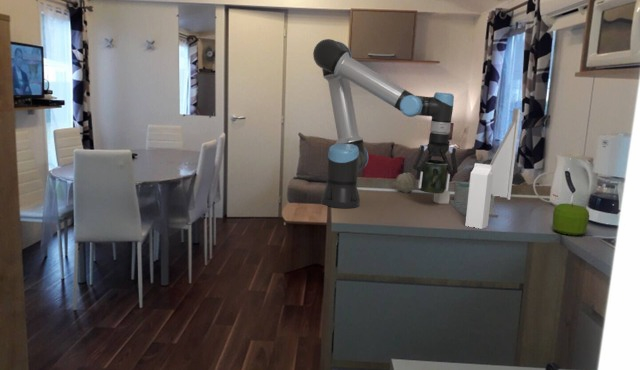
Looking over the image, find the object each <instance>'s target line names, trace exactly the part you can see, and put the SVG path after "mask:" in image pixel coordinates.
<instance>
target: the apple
mask: <svg viewBox="0 0 640 370" xmlns="http://www.w3.org/2000/svg"><path fill="white" fill-rule="evenodd" d="M589 220H590V211H589V210H588V209H587V208H586V207H585V206H583V205H577V204H573V203H560V204H557V205H556V206H554V209H553V215H552V225H551V226H552V227H551V228H552V229H554V230H555V231H556V232H558V233H559V234H561V233H562V235H566V234H568V236H579V235H582V234H586V232H587V228H588V223H589Z"/></svg>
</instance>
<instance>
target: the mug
mask: <svg viewBox="0 0 640 370" xmlns="http://www.w3.org/2000/svg"><path fill="white" fill-rule="evenodd" d="M423 160H424V159H421V160H420V162H421V163H422V162H423ZM425 163H426V165H425V166H424V168H423V169H422V170H421V171H422V172H423V175H422V183H421V188H418V189H419V190H420V191H421V192H423V193H424V192H425V193H428V194H434V193H443V192H444V191H445V183H446V175H447V173H448V170H447V165H448V164H445V163H444V161H443V160H438V159H429V161H428V162H425Z"/></svg>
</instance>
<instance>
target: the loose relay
mask: <svg viewBox="0 0 640 370" xmlns="http://www.w3.org/2000/svg"><path fill="white" fill-rule="evenodd" d="M450 195H451V192H450V191H449V190H448V191H447V190H445V191H444V192H443V193H433V202H434V203H436V204H450V203H449V200H450Z"/></svg>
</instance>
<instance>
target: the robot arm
mask: <svg viewBox="0 0 640 370" xmlns="http://www.w3.org/2000/svg"><path fill="white" fill-rule="evenodd" d="M312 55H313V57H312V58H313V61H314V63H315V64H316V65H317V66H318V67H319V68H320V69H321V70H322V71H321V72H322V77H323V78H324V79H325V80H327V82H328V83H327V84H328V89H329V93H330V98H331V99H330V101H331V105H332V112H333V117H334V123H335V129H336V135H337V140H336V142H335V143H334V144H332V145H331V146H330V147H329V149H328V153H327V157H328V158H327V159H328V160H327V175H326V179H327V181H326V186H325V188H324V191H323V193H322V197H321V204H322V205H323V206H327V207H330V208H337V209H352V208H353V209H354V208H358V207H360V204H361V198H360V195H359V189H358V186H357V185H358V184H357V181H358V173H360V172H361V171H363V170H364V169H365V168H366V166H367V164H368V162H369V153H368V151H367V149H366V148H365V145H364V138H363V137H361V136H360V135H359V129H358V124H357V119H356V113H355V105H354V101H353V94H352V88H351V84H350V82H352V83H353V84H355V85H357V86H358V87H360V88H361V89H363V90H365V91H366V92H368V93H370V94H372V95H374V97H376V98H378V99H380V100H381V101H383V102H385V103H387V104H388V105H390V106H392V107H393V108H395V109H396V110H398V111H400V112H401V113H402V114H403V115H404V116H407V117H408V118H410V117H411V118H413V117H416V116H419V117H420V116H422V117H431V120H430V121H431V122H430V130H429V131H430V132H429V137H428V144H427V145H422V144H420V146H419V151H418V154H417V156H416V159H415V161H414V164H413V165H412V169H413V170H415V171H416V178H415V179H416V180H418V182H417V183H418V184H417V188H418V189H419V188H421V183H422V175H423V172H422V171H421V170H422V169H423V168H424V166H425V165H426V163H425V162H428V161H429V160H431V158H433V157H436V158H437V157H438V158H442V161H444V163H445V164H448V165H447V175H446V183H445V190H447V191H449V183H451V182H452V179H453V175H454V174H457V173H458V172H459V171H458V164H457V158H456V153H457V152H456V151H457V148H455V147H450V146H449V141H450V134H449V133H451V125H452V119H453V118H452V117H453V111H454V100H455V99H454V98H455V97H454V96H455V95H454V94H453V93H447V92H437V91H436V92H435V93H434V95H433V96H424V95H415V94H413V93H411V92H410V91H408V90H406V89H405V88H403V87H401V86H400V85H398V84H397V83H394V81H391V80H389V79H388V78H386V77H384V75H381V74H379V73H378V72H376V71H374V70H373V69H371V68H370V67H368V66H366V65H364V64H363V63H361V62H359V61H358V60H356V59H354V58H353V57H352V52H351V49H350V48H349V47H348V46H347V45H346V44H345V43H344V42H340V41H339V40H338V41H336V40H334V39H331V38H327V39H322V40H320V41H319V42H318V43H317V44H316V45H315V46H314V50H313V54H312ZM426 150H427V151H428V153H427V154H426V156H425V157H424V158H423V159H422V157H423V154H424V153H425V151H426ZM447 152H449V154H450V159H451V164H450V162H449V160H448V157H447V155H446V153H447ZM421 160H423V162H421ZM420 162H421V163H420ZM451 165H452V167H451Z"/></svg>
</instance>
